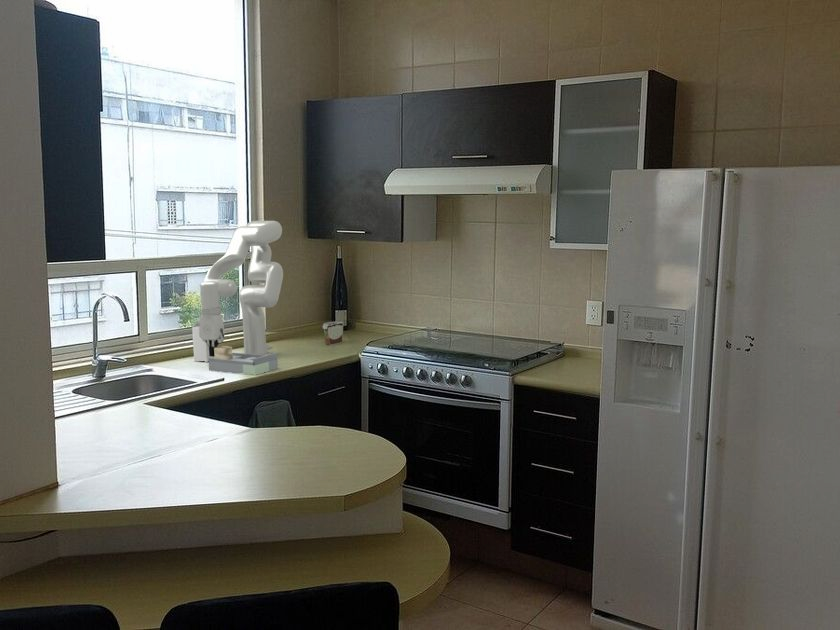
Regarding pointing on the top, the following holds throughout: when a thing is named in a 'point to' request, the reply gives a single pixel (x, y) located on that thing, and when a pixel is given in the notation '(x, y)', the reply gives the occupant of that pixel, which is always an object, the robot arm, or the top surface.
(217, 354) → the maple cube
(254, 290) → the robot arm
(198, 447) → the top surface
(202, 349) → the milk carton
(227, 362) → the two-pit board
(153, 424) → the top surface
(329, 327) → the food container
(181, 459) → the top surface
